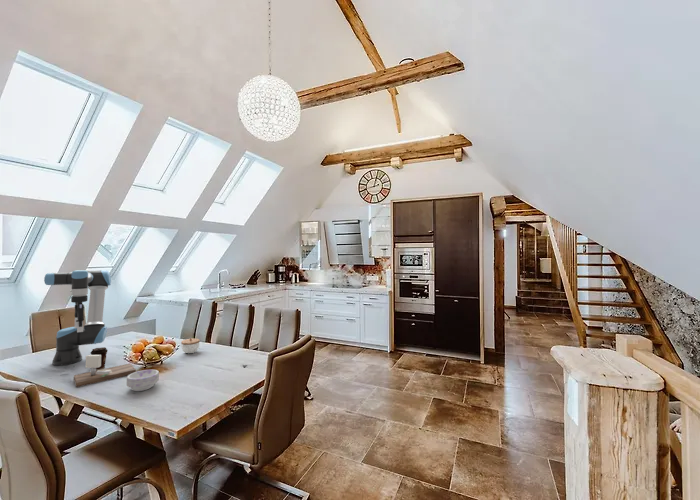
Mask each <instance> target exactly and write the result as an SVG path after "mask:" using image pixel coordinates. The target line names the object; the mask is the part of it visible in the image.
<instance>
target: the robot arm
mask: <svg viewBox="0 0 700 500" xmlns="http://www.w3.org/2000/svg"><path fill="white" fill-rule="evenodd" d="M43 279H44V280H43V281H44V284H45V285H46V286H63V285H64V286H65V285H67V286H71V290H69V292H70V293H71V298H70V299H71V300H70V302H71V303H73V304H74V326H70V327H65V328H62V329H59V330H58V331H57V332H56V338H55V339H56V343H55V344H56V345H55V348H56V349H55V351H56V352H55V353H54V354H55V355H54V357H53V359H52V364H51V365H52V366H66V365H67V366H68V365H71V364H75V363H78V362H81V361H82V360H83V355H82V353H81V351H80V346H87V345H97V344H101V343H104V341H105V339H106V338H107V337H106V336H107V335H108V334H107V333H108V327H107V326H106V324H105V323H104V322H103V319H104V310H105V309H104V306H105V296H106V290H107V289H108V288H109V286H111V285H112V277H111V273H110V271H109V270H102V269H100V270H99V269H95V270H94V269H93V270H90V269H89V270H85V269H78V270H77V269H76V270H72V271H71V272H48V273H45V275H44V278H43ZM88 293H89V295H88ZM88 296H89V300H88ZM88 301H89V302H88ZM87 302H88V310H87V311H88V312H87V318H86V319H87V320H86V323H85V324H84V320H85V319H84V318H85V316H84V314H85V313H84V311H85V310H84V308H85V304H83V303H87Z"/></svg>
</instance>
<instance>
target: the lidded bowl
mask: <svg viewBox="0 0 700 500" xmlns="http://www.w3.org/2000/svg"><path fill="white" fill-rule="evenodd" d="M200 341H201V340H200V339H199V338H192V337H190V338H187V339H183V340H181V350H182V352H183V353H184V354H185V353H193V354H195V353H196V352H197V351H198V350H199V348H200ZM194 352H195V353H194Z"/></svg>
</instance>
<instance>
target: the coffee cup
mask: <svg viewBox="0 0 700 500" xmlns="http://www.w3.org/2000/svg"><path fill="white" fill-rule="evenodd" d="M91 349H92V350H91V352H90V355H101V366H100V367H99V368H96V370H101V369H106V366H105V364H106V361H107V354H108V349H107V347H96V348H91Z"/></svg>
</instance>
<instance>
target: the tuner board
mask: <svg viewBox="0 0 700 500" xmlns="http://www.w3.org/2000/svg"><path fill="white" fill-rule="evenodd" d="M97 371H110V373H109V374H95V375H91V371H88V372H82V373H78V374H73V381H74V384H75V386H76V387H75V388H80V387H84V386H87V385H92V384H96V383H101V382H105V381H110V380H114V379H117V378H118V379H119V378H122V377H125V376H126V377H127V376H128V375H130V374H132V373H134V372H137V369H136V368H135V367H134V366H133V365H132V364H131V363H126V364H121V365H116V366H111V367H105V368H103V369H99V370H96V372H97Z"/></svg>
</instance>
